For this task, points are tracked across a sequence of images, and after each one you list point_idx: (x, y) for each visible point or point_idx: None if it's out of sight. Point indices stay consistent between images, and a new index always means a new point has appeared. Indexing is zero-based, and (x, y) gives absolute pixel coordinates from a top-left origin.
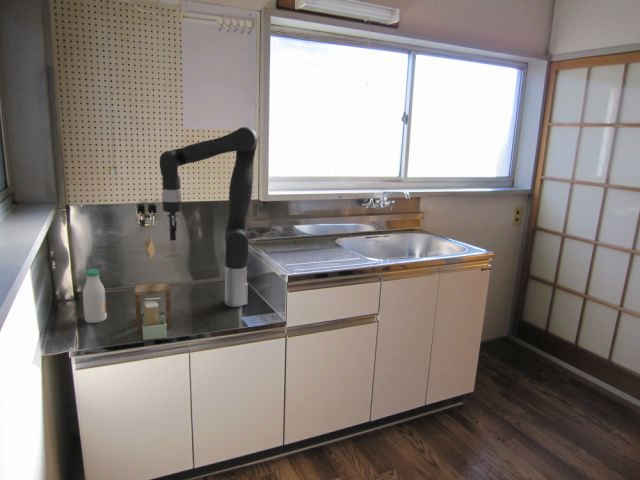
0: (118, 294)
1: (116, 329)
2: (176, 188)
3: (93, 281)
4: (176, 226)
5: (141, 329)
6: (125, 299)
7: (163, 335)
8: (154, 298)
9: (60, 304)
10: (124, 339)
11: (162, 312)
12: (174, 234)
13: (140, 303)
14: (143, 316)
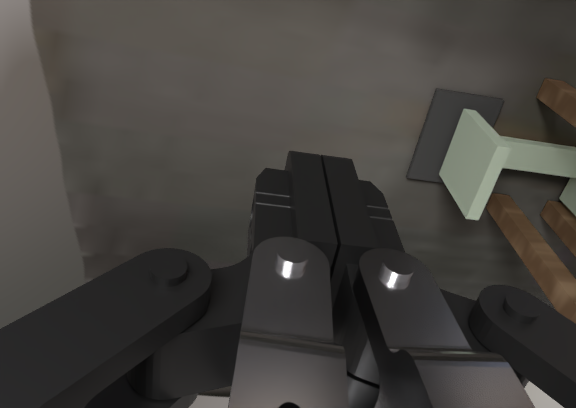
0: (129, 234)
1: (489, 270)
2: None
3: None
4: (493, 357)
5: (562, 205)
6: (202, 216)
7: None
8: (491, 178)
9: None
10: None
11: (445, 97)
12: (401, 244)
13: (557, 256)
14: (442, 180)
